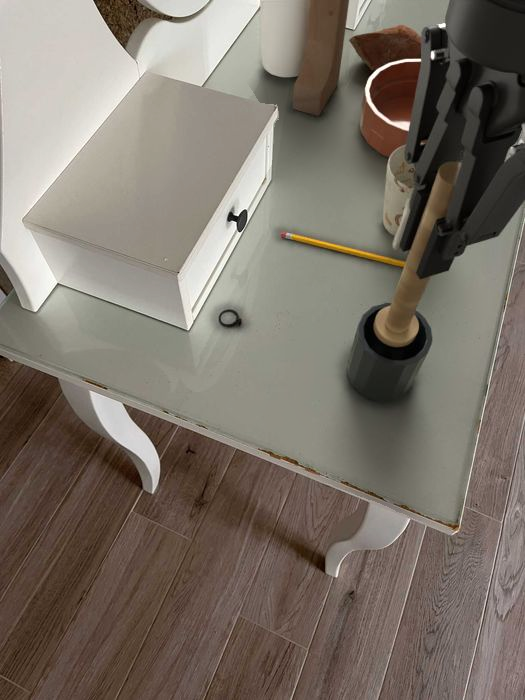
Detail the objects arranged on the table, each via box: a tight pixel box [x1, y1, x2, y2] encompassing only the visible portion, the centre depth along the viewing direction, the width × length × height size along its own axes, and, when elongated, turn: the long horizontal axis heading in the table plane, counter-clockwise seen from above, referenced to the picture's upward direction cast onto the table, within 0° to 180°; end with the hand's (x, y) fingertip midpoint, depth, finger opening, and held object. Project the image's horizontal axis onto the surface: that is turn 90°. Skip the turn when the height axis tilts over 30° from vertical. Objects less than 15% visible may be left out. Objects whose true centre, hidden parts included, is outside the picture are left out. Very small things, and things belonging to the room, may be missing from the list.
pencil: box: [280, 231, 406, 268], centre depth 77 cm, size 1×19×1 cm, turn 72°
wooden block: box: [292, 0, 350, 117], centre depth 84 cm, size 9×4×18 cm, turn 157°
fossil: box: [348, 24, 421, 73], centre depth 92 cm, size 13×8×10 cm
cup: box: [259, 0, 310, 78], centre depth 89 cm, size 8×8×14 cm
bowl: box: [358, 59, 428, 159], centre depth 86 cm, size 16×16×6 cm
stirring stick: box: [374, 161, 461, 347], centre depth 50 cm, size 4×4×21 cm
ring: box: [218, 308, 243, 328], centre depth 72 cm, size 2×1×3 cm
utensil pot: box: [346, 301, 433, 403], centre depth 64 cm, size 8×8×9 cm
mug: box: [382, 143, 424, 251], centre depth 74 cm, size 8×13×10 cm, turn 162°
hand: (423, 257), depth 50 cm, fingers closed on stirring stick, 2 cm apart
